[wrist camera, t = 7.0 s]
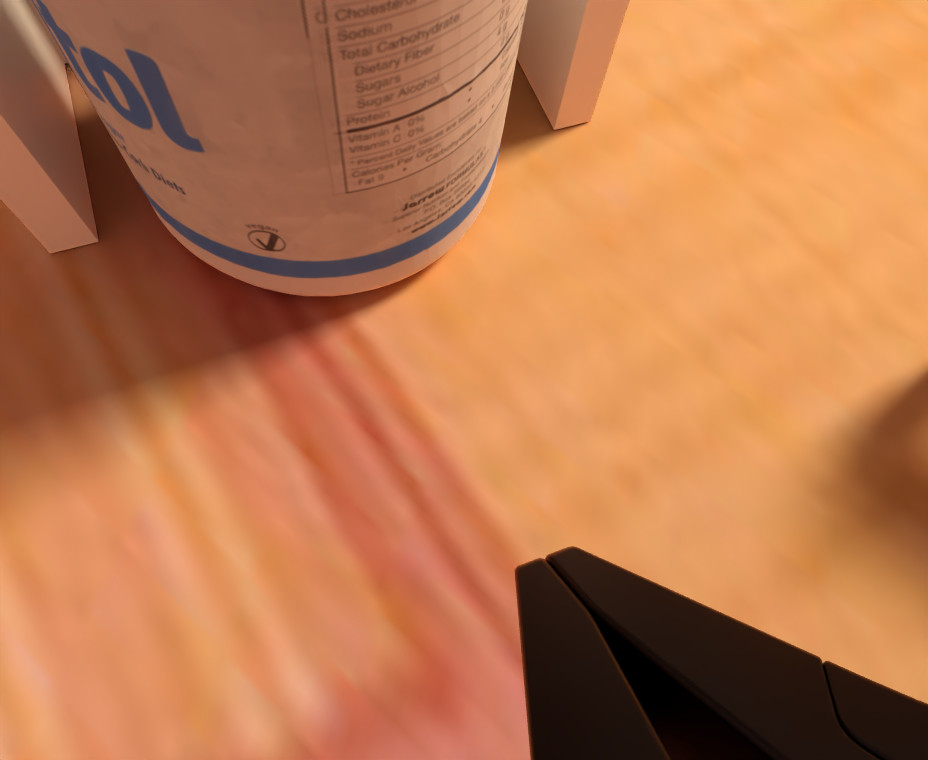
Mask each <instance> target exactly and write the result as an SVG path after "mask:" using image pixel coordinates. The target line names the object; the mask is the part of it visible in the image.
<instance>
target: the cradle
mask: <svg viewBox="0 0 928 760" xmlns="http://www.w3.org/2000/svg"><path fill="white" fill-rule="evenodd" d="M628 3H629V0H528V1H527V6H526V11H525V17H524V22H523V27H522V33H521V38H520V43H519V48H518V54H517V60H518V62H519V64H520V66H521V68H522V69H523V71H524V73H525V75H526V77H527V79H528V81H529V83H530V85H531V87H532V89H533V91H534V93H535V94H536V96H537V98H538V100H539V102H540V104H541V106H542V108H543V110H544V112H545V114H546V116H547V117H548V119H549V121H550V123H551V125H552V127H553V129H554V130H556V129H560V128H564V127H568V126H573V125H577V124H581V123H585V122H589V121H591V118H592V115H593V112H594V109H595V105H596V102H597V99H598V96H599V93H600V90H601V87H602V84H603V81H604V78H605V74H606V71H607V68H608V65H609V62H610V59H611V56H612V53H613V50H614V47H615V43H616V40H617V37H618V34H619V31H620V28H621V25H622V22H623V19H624V16H625V12H626V9H627V6H628ZM66 63H68V62H67V60H66V58H65V57H64V55H63V53H62V51H61V50H60V48H59V46H58V45H57V43H56V41H55V39H54V38H53V36H52V34H51V33H50V31H49V29H48V27H47V26H46V24H45V22H44V21H43V19H42V17H41V16H40V14H39V12H38V10H37V9H36V7H35V5H34V4H33V2H32V0H0V199H1V200H2V202H3V203H4V204H5V205H6V206H7V207H8V208H9V209H10V210H11V211H12V212H13V214H14V215H15V216H16V217H17V218H18V219H19V220H20V221H21V222H22V223H23V224H24V226H25V227H26V228H27V229H28V230H29V231H30V232H31V233H32V234H33V235H34V236H35V238H36V239H37V240H38V241H39V242H40V243H41V244H42V245H43V246H44V247H45V248H46V250H47V251H48V252H49V253H55V252H59V251H63V250H67V249H71V248H75V247H79V246H83V245H87V244H91V243H95V242H99V240H98V235H97V230H96V225H95V219H94V214H93V209H92V204H91V199H90V193H89V188H88V183H87V178H86V173H85V167H84V162H83V157H82V152H81V147H80V141H79V136H78V131H77V126H76V121H75V115H74V110H73V105H72V100H71V95H70V89H69V84H68V79H67V74H66V69H65V64H66Z"/></svg>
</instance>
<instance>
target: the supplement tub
mask: <svg viewBox="0 0 928 760" xmlns="http://www.w3.org/2000/svg"><path fill="white" fill-rule="evenodd" d="M527 1H528V0H32V2H33V4H34V5H35V7H36V9H37V10H38V12H39V14H40V16H41V17H42V19H43V21H44V22H45V24H46V26H47V27H48V29H49V31H50V33H51V34H52V36H53V38H54V39H55V41H56V43H57V45H58V46H59V48H60V50H61V51H62V53H63V55H64V57H65V58H66V60H67V62H68V64H69V65H70V67H71V69H72V70H73V72H74V74H75V76H76V77H77V79H78V81H79V82H80V84H81V86H82V88H83V89H84V91H85V93H86V94H87V96H88V98H89V99H90V101H91V103H92V105H93V106H94V108H95V110H96V112H97V113H98V115H99V117H100V118H101V120H102V122H103V124H104V125H105V127H106V129H107V130H108V132H109V134H110V136H111V137H112V139H113V141H114V142H115V144H116V146H117V147H118V149H119V151H120V153H121V154H122V156H123V158H124V160H125V161H126V163H127V165H128V167H129V168H130V170H131V172H132V173H133V175H134V177H135V179H136V180H137V182H138V184H139V186H140V187H141V189H142V190H143V192H144V194H145V195H146V197H147V199H148V200H149V202H150V204H151V205H152V207H153V209H154V211H155V212H156V214H157V216H158V217H159V219H160V220H161V221H162V223H163V224H164V225H165V226H166V228H167V229H168V230H169V232H170V233H171V234H172V235H173V236H174V237H175V238H176V239H177V240H178V241H179V242H180V243H181V244H182V245H183V246H184V247H185V248H187V249H188V250H189V251H190V252H192V253H193V254H194V255H195V256H197V257H198V258H200V259H201V260H203V261H204V262H206V263H207V264H209V265H211V266H212V267H214V268H216V269H218V270H219V271H221V272H223V273H226V274H228V275H230V276H232V277H234V278H236V279H239V280H241V281H244V282H246V283H249V284H251V285H254V286H258V287H261V288H264V289H268V290H273V291H277V292H281V293H287V294H292V295H301V296H339V295H348V294H354V293H359V292H364V291H370V290H373V289H377V288H380V287H383V286H386V285H389V284H392V283H395V282H398V281H400V280H402V279H405V278H407V277H409V276H411V275H413V274H415V273H417V272H419V271H421V270H423V269H424V268H426V267H427V266H429V265H430V264H432V263H433V262H435V261H436V260H437V259H439V258H440V257H441V256H443V255H444V254H446V253H447V252H448V251H449V250H450V249H451V248H452V247H453V246H454V245H455V244H456V243H457V242H458V241H459V240H460V239H461V238H462V237H463V236H464V235H465V233H466V232H467V231H468V230H469V228H470V227H471V226H472V224H473V223H474V222H475V220H476V219H477V217H478V215H479V214H480V212H481V210H482V208H483V206H484V204H485V202H486V199H487V197H488V195H489V192H490V189H491V186H492V183H493V180H494V177H495V172H496V167H497V161H498V155H499V150H500V144H501V138H502V133H503V129H504V123H505V117H506V112H507V107H508V102H509V97H510V92H511V86H512V81H513V75H514V70H515V64H516V59H517V54H518V48H519V43H520V38H521V33H522V27H523V22H524V17H525V11H526V6H527Z"/></svg>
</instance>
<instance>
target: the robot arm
mask: <svg viewBox="0 0 928 760" xmlns="http://www.w3.org/2000/svg"><path fill="white" fill-rule="evenodd" d="M515 581H516V593H517V605H518V616H519V628H520V640H521V652H522V663H523V675H524V687H525V698H526V710H527V722H528V733H529V745H530V757H531V760H928V704H927V703H924V702H921V701H919V700H916V699H914V698H912V697H909V696H907V695H905V694H902V693H900V692H898V691H895V690H893V689H891V688H888V687H886V686H884V685H881V684H879V683H877V682H874V681H872V680H870V679H867V678H865V677H863V676H860V675H858V674H856V673H854V672H852V671H849V670H847V669H845V668H843V667H840V666H838V665H836V664H834V663H832V662H829V661H825V662H824V663H822V660H821V658H820V657H818V656H816V655H813V654H811V653H809V652H807V651H805V650H802V649H800V648H798V647H796V646H794V645H791V644H789V643H787V642H785V641H783V640H780V639H778V638H776V637H774V636H771V635H769V634H767V633H765V632H763V631H760V630H758V629H756V628H754V627H752V626H749V625H747V624H745V623H743V622H741V621H738V620H736V619H734V618H732V617H730V616H727V615H725V614H723V613H721V612H719V611H716V610H714V609H712V608H710V607H708V606H705V605H703V604H701V603H699V602H696V601H694V600H692V599H690V598H688V597H685V596H683V595H681V594H679V593H677V592H674V591H672V590H670V589H668V588H666V587H663V586H661V585H659V584H657V583H655V582H652V581H650V580H648V579H646V578H644V577H641V576H639V575H637V574H635V573H632V572H630V571H628V570H626V569H624V568H621V567H619V566H617V565H615V564H613V563H610V562H608V561H606V560H604V559H602V558H599V557H597V556H595V555H593V554H591V553H588V552H586V551H584V550H582V549H580V548H577V547H573V546H571V547H567V548H565V549H562V550H559V551H557V552H554V553H551V554H549V555H547V557H546V558H545V559H542V558H538V559H535V560H533V561H530V562H527V563H525V564H522V565H519V566H517V567H516V569H515Z"/></svg>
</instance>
